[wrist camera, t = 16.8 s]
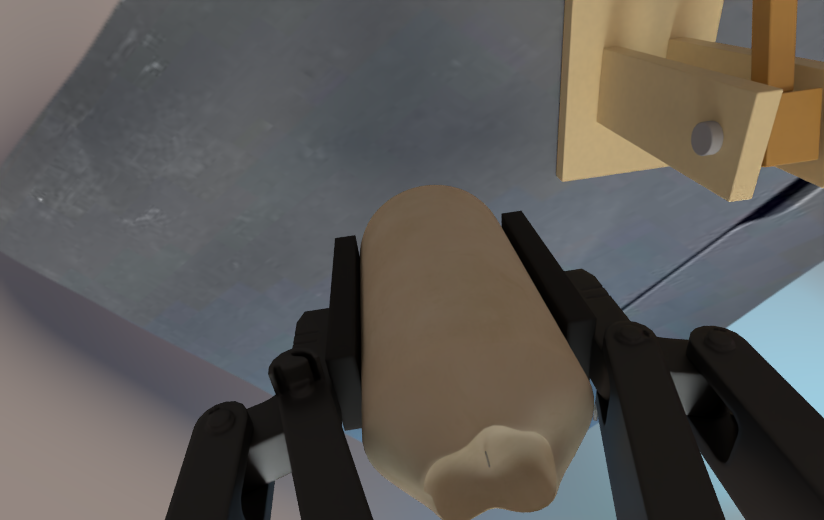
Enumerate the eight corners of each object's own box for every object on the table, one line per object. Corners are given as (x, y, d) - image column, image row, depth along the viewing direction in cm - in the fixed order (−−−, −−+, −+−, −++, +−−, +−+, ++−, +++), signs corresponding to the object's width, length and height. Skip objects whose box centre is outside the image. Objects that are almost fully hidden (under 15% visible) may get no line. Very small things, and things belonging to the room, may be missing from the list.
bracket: (565, -22, 27) (729, -22, 15) (718, -43, 27) (998, -59, 15) (555, 175, 33) (666, 285, 21) (680, 157, 33) (857, 256, 22)
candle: (529, 230, 18) (678, 452, 10) (443, 325, 20) (505, 577, 12) (415, 153, 16) (479, 351, 8) (332, 267, 18) (311, 523, 10)
